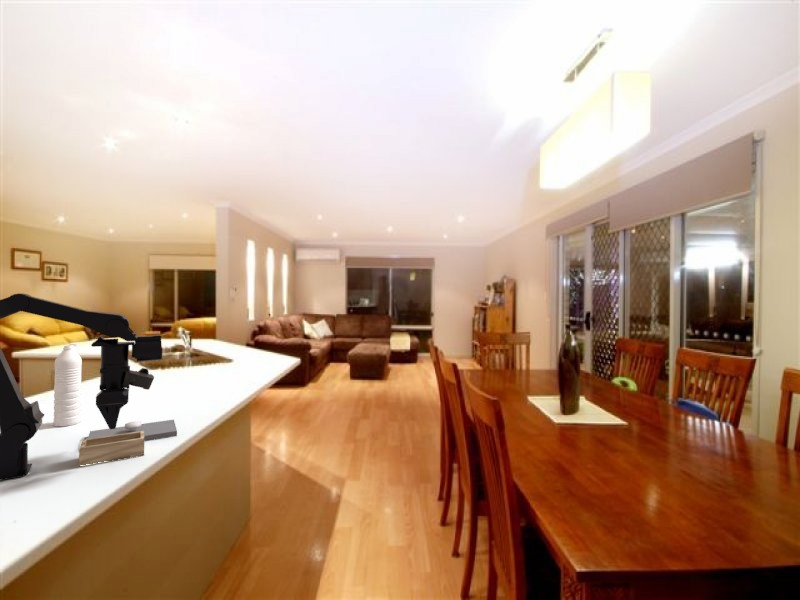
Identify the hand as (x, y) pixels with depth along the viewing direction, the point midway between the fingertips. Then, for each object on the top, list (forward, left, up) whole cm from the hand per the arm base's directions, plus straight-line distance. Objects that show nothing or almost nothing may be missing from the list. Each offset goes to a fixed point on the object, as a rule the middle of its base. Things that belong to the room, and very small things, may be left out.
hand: (113, 423), depth 98 cm
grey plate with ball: (+14, -4, -9) cm, 17 cm away
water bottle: (+38, +13, -9) cm, 41 cm away
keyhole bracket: (0, 0, -9) cm, 9 cm away
